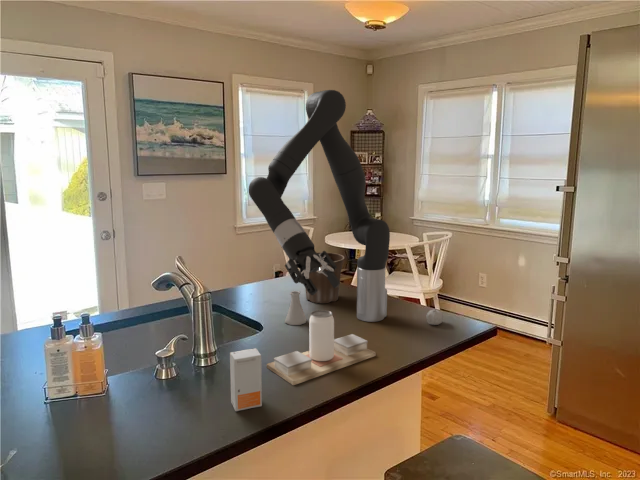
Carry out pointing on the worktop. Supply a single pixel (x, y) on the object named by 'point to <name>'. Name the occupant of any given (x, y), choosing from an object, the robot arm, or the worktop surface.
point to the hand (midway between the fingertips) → (326, 289)
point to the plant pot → (326, 282)
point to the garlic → (434, 317)
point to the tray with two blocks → (304, 368)
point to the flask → (295, 311)
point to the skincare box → (246, 379)
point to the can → (321, 335)
